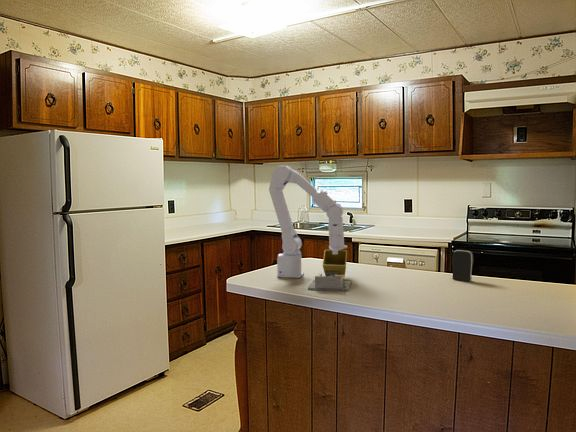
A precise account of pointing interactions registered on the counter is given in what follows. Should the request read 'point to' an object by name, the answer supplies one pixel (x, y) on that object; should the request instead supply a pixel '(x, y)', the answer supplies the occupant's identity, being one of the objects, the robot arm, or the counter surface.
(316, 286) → the gauge housing
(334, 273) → the plunger
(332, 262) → the flower pot
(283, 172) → the robot arm
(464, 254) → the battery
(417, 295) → the counter surface
